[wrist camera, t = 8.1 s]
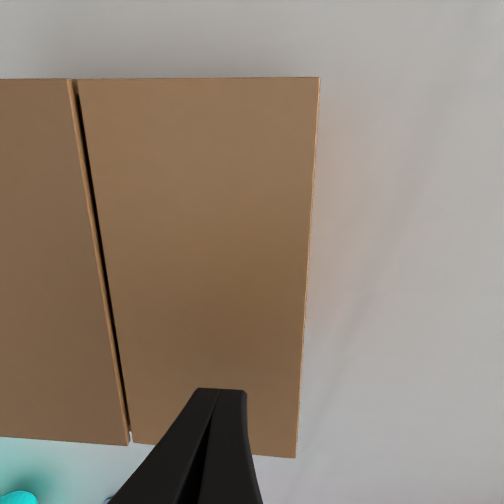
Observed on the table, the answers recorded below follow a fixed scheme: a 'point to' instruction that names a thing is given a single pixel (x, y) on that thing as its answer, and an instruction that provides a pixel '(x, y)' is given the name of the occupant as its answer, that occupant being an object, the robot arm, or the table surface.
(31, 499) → the donuts
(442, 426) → the table surface
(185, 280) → the flap
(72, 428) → the carton
